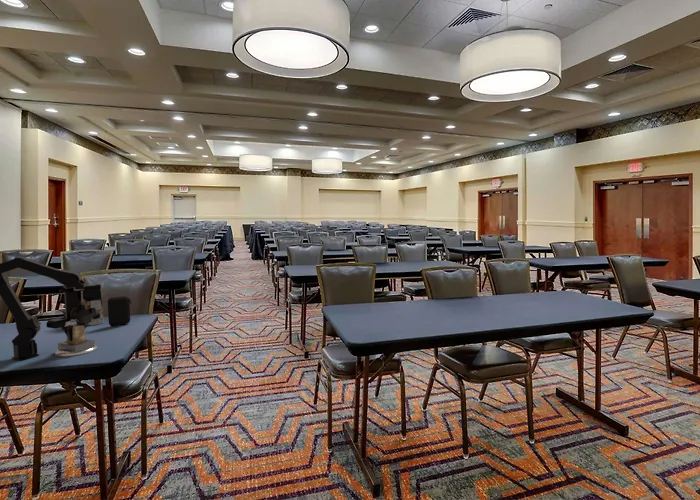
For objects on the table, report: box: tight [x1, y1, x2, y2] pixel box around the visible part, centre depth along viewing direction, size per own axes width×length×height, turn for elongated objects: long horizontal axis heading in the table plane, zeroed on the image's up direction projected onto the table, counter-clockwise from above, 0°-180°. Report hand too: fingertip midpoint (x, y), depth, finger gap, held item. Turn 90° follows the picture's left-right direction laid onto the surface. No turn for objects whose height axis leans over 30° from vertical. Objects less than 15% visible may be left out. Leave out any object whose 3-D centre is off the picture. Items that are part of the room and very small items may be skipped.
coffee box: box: [81, 292, 104, 326], centre depth 212 cm, size 9×6×16 cm
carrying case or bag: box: [107, 295, 132, 327], centre depth 208 cm, size 11×3×15 cm, turn 127°
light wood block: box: [66, 323, 86, 345], centre depth 168 cm, size 4×6×9 cm, turn 67°
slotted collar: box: [54, 338, 98, 358], centre depth 169 cm, size 14×14×4 cm
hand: (75, 339), depth 168 cm, fingers closed on light wood block, 3 cm apart
